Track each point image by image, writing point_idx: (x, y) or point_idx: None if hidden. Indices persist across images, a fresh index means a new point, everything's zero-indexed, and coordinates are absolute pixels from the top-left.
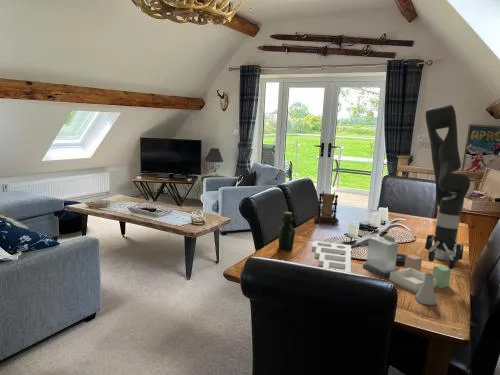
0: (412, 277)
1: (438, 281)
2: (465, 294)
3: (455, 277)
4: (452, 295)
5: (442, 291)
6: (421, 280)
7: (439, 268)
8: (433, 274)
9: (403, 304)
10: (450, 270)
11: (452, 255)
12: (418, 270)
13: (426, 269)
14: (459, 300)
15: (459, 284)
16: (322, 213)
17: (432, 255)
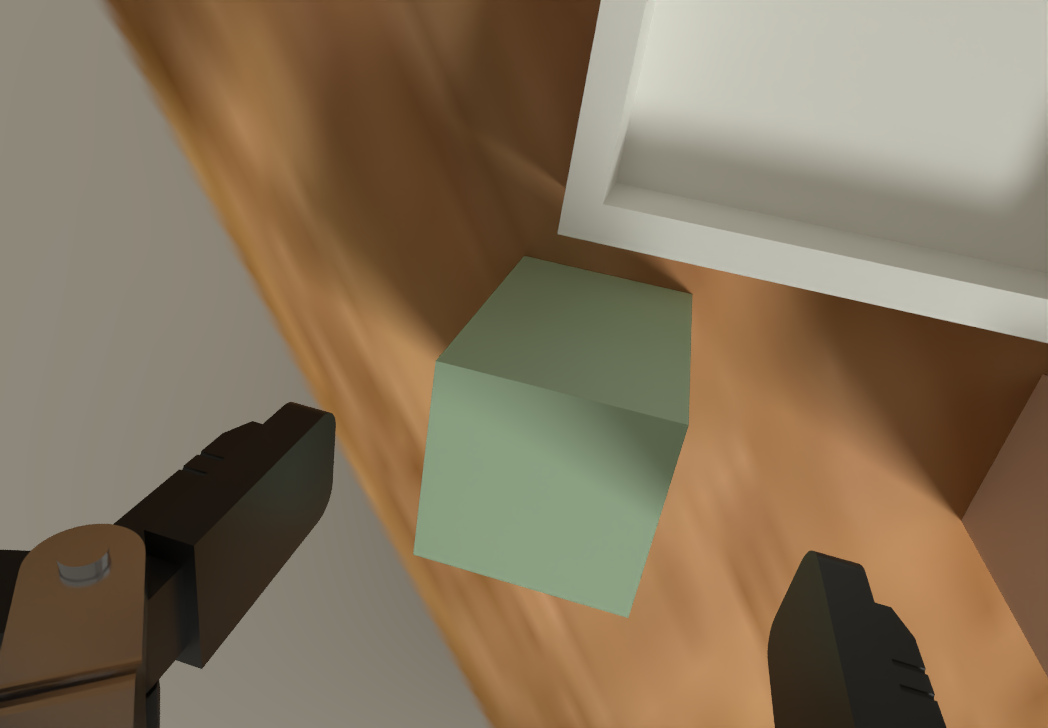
0: (1007, 170)
1: (567, 293)
2: (272, 317)
3: (571, 701)
4: (322, 134)
5: (458, 145)
6: (820, 182)
7: (561, 433)
8: (667, 349)
9: None
10: (422, 530)
11: (1, 662)
12: (1006, 521)
13: None
14: (196, 50)
15: None
16: None
17: (818, 716)
